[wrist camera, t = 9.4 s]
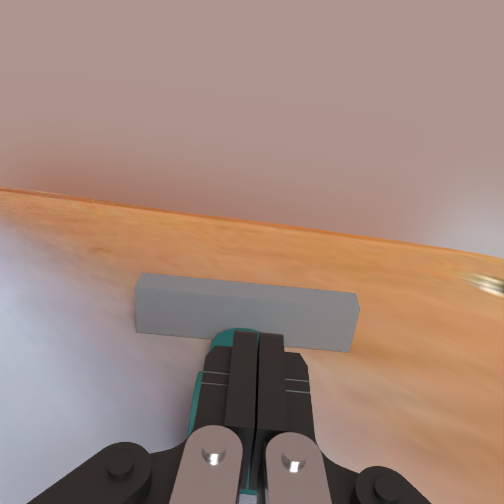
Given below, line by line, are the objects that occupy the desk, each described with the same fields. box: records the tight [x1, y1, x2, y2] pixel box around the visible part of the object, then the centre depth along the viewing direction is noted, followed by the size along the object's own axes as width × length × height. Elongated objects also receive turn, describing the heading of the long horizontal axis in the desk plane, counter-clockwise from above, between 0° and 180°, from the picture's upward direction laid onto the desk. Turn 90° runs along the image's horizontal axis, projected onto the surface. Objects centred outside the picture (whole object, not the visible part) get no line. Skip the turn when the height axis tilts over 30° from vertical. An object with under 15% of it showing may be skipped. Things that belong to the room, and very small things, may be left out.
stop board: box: [135, 273, 360, 352], centre depth 51 cm, size 24×3×6 cm, turn 88°
